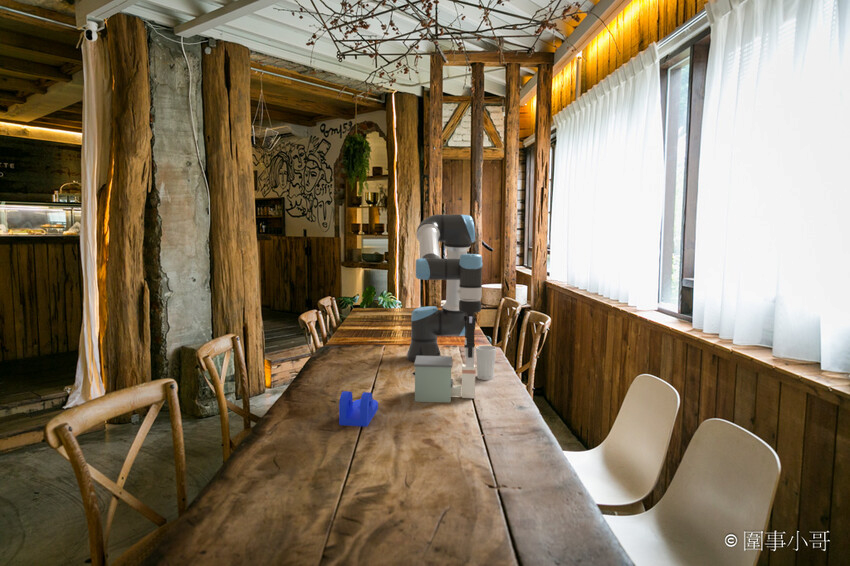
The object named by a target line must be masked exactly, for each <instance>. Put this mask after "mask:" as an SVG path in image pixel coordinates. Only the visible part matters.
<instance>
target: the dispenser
mask: <svg viewBox="0 0 850 566" xmlns="http://www.w3.org/2000/svg"><path fill="white" fill-rule="evenodd" d="M413 367H414V402H416V403H417V402H420V403H421V402H422V403H424V402H426V403H427V402H428V403H449V404H450V403H451V402H452V401H451V400H452V398H451V397H452V396H451V387H453V386H454V385H453V384H454V383H453V382H454V379H453V378H452V368H453V356H451V355H450V356H449V355H447V356H444V355H443V356H442V355H441V356H416V360H415V362H414V365H413Z"/></svg>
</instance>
